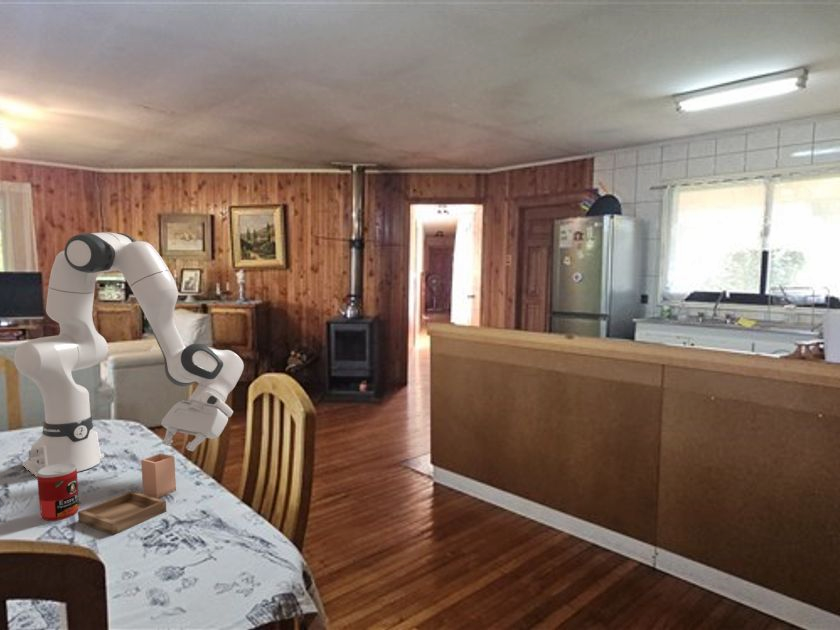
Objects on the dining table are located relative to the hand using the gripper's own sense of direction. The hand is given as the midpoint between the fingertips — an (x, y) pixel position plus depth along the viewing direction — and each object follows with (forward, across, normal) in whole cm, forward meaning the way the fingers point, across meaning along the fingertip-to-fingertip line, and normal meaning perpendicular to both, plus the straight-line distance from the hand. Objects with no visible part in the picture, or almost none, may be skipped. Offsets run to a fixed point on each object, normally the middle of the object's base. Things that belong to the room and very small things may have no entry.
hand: (177, 447), depth 143 cm
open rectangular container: (+11, 0, +3) cm, 12 cm away
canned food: (+25, -10, -10) cm, 29 cm away
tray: (+20, +5, -6) cm, 22 cm away
